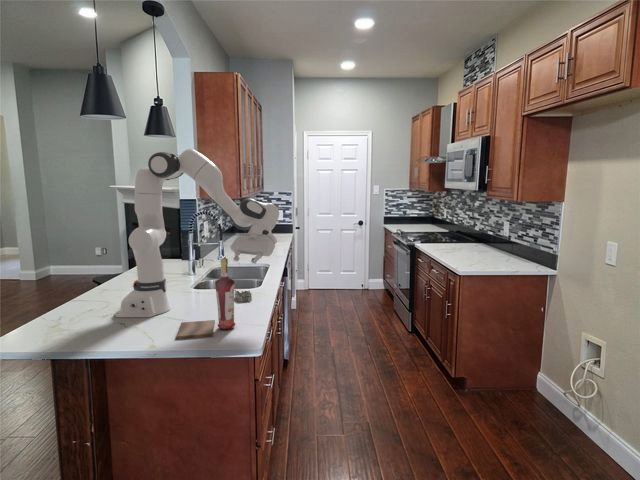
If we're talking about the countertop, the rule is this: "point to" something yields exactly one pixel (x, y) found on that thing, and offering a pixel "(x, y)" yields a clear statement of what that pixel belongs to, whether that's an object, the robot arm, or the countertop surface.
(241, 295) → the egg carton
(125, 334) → the countertop surface
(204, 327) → the serving board
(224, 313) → the liquor
